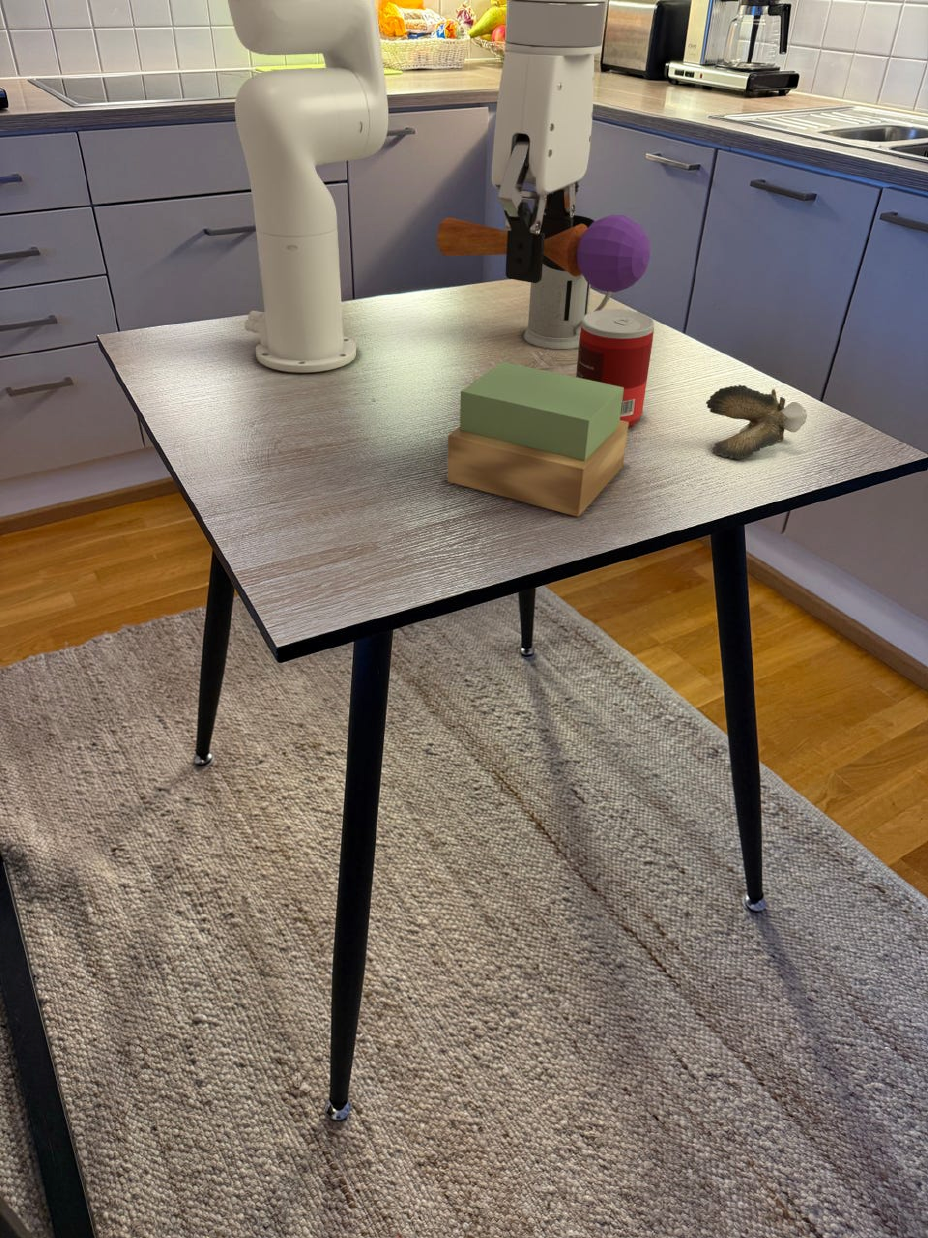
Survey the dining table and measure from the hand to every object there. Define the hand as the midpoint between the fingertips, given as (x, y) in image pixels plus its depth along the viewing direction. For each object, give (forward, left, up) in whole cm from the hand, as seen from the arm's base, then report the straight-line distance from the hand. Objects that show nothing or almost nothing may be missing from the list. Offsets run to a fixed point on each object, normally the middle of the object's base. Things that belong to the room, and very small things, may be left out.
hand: (538, 269), depth 83 cm
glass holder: (-11, +38, -20) cm, 44 cm away
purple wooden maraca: (0, 0, -1) cm, 1 cm away
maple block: (+1, +1, -20) cm, 20 cm away
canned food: (+2, +18, -20) cm, 27 cm away
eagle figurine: (+18, +19, -20) cm, 33 cm away
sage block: (+1, +1, -15) cm, 15 cm away
